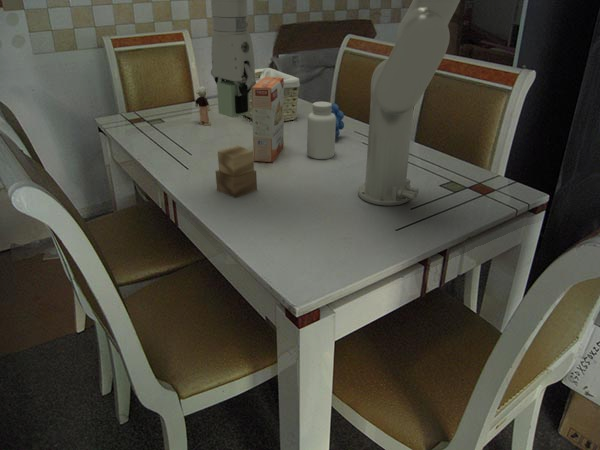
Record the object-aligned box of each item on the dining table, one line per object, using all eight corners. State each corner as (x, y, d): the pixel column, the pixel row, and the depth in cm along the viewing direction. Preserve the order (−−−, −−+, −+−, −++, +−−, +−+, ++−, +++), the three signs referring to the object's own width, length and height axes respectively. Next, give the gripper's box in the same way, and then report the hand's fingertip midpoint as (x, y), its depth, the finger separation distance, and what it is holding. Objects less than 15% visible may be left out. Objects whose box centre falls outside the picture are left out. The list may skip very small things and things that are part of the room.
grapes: (321, 146, 154) (322, 107, 148) (309, 140, 159) (309, 102, 153) (351, 139, 160) (353, 101, 154) (338, 134, 165) (339, 97, 159)
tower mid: (253, 171, 123) (253, 151, 121) (234, 177, 119) (232, 157, 117) (238, 164, 127) (237, 145, 125) (219, 170, 123) (217, 151, 121)
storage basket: (232, 111, 190) (230, 70, 183) (271, 105, 197) (270, 66, 190) (260, 127, 172) (258, 83, 165) (301, 120, 179) (301, 78, 172)
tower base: (257, 189, 126) (256, 170, 123) (234, 198, 121) (233, 178, 119) (239, 182, 130) (237, 163, 128) (217, 189, 125) (215, 171, 123)
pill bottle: (326, 161, 142) (327, 108, 135) (301, 156, 146) (302, 104, 139) (339, 153, 148) (341, 102, 141) (315, 148, 152) (316, 98, 145)
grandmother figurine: (216, 124, 175) (213, 86, 169) (209, 126, 172) (206, 89, 166) (200, 120, 179) (196, 84, 173) (192, 123, 176) (188, 86, 170)
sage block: (249, 113, 117) (248, 82, 113) (232, 117, 113) (230, 86, 110) (235, 109, 120) (234, 79, 116) (218, 113, 117) (216, 82, 113)
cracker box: (274, 163, 141) (272, 87, 132) (253, 162, 142) (249, 86, 133) (285, 147, 153) (284, 76, 144) (266, 146, 154) (263, 75, 145)
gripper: (270, 28, 105) (271, 114, 113) (220, 20, 115) (224, 100, 124) (241, 30, 100) (245, 121, 109) (192, 22, 111) (198, 105, 119)
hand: (233, 109), depth 116 cm, fingers closed on sage block, 5 cm apart
